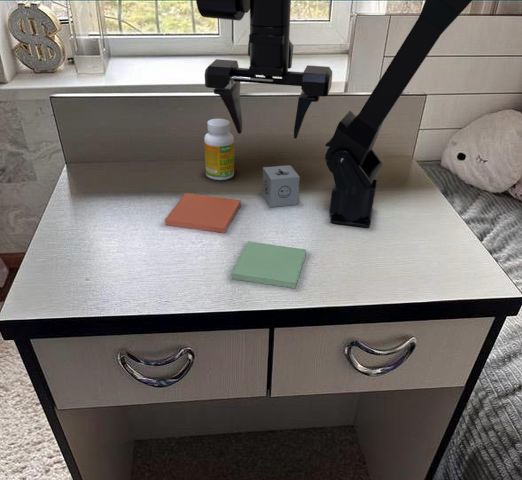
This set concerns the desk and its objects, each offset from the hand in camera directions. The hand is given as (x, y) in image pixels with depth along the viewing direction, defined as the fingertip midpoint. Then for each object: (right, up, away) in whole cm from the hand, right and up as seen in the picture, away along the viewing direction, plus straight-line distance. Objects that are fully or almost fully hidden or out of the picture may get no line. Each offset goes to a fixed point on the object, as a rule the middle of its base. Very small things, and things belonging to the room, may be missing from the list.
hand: (267, 135), depth 85 cm
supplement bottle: (-9, -2, +15) cm, 17 cm away
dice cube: (+2, -9, +8) cm, 12 cm away
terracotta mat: (-11, -12, +3) cm, 16 cm away
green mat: (0, -23, -9) cm, 24 cm away
